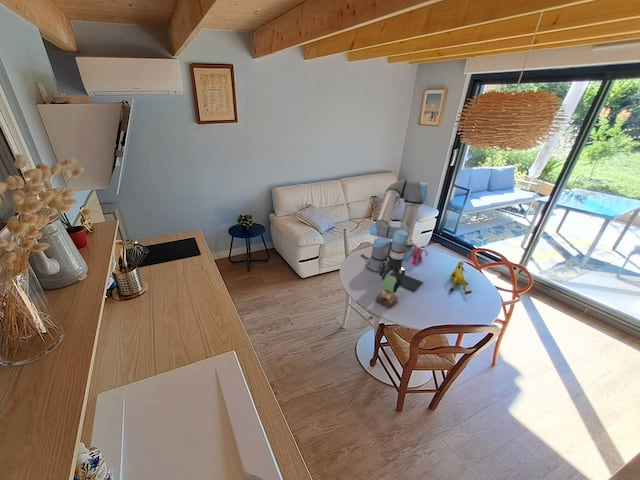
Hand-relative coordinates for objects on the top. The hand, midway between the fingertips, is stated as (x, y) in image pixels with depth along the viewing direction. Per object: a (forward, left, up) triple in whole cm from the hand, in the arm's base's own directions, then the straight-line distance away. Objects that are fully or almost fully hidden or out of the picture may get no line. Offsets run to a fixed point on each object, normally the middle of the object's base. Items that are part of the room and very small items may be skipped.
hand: (389, 289), depth 173 cm
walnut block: (0, 0, -9) cm, 9 cm away
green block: (0, 0, +1) cm, 1 cm away
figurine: (+26, +53, -10) cm, 60 cm away
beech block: (0, 0, -5) cm, 5 cm away
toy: (-12, +61, -10) cm, 63 cm away
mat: (-2, +29, -9) cm, 30 cm away
